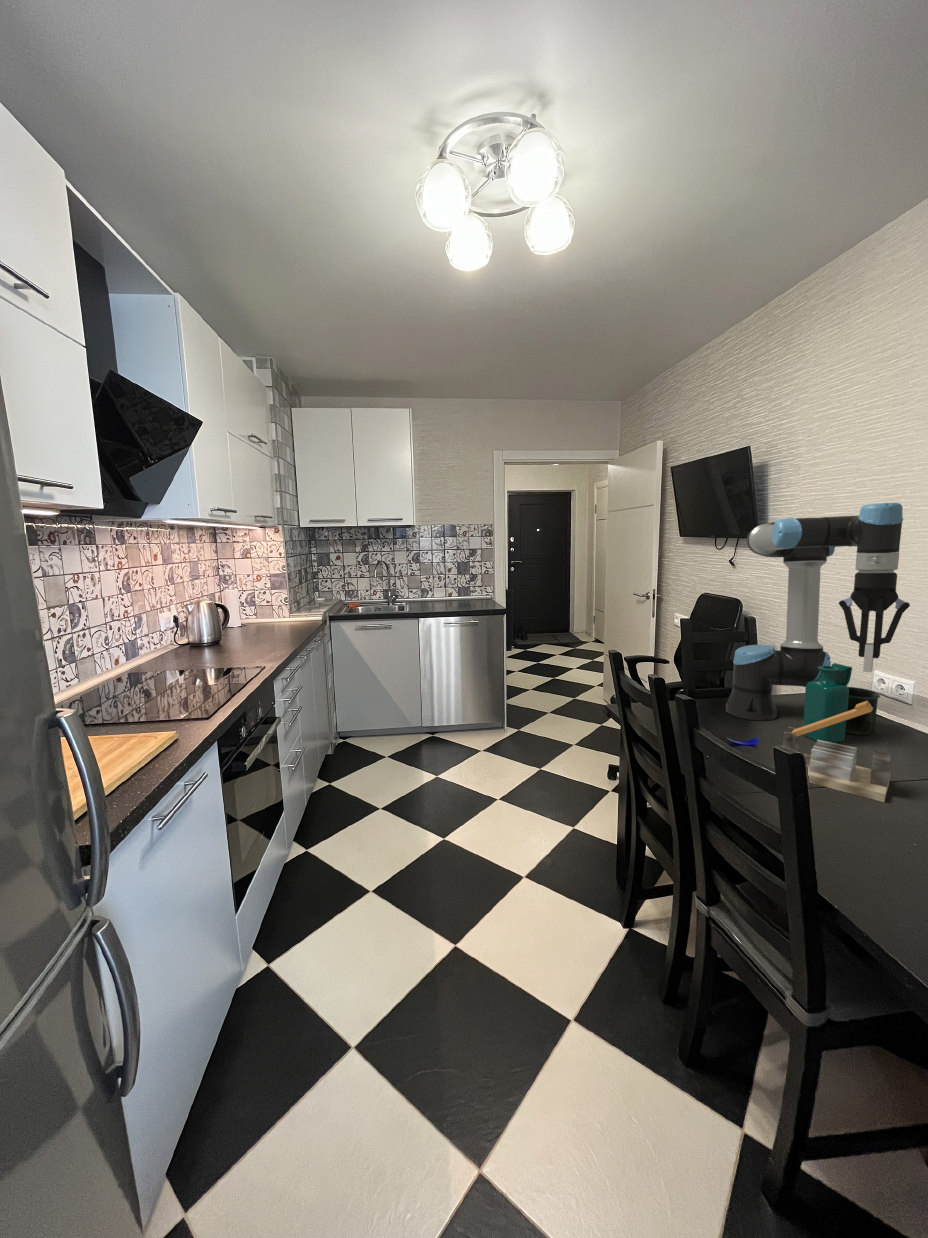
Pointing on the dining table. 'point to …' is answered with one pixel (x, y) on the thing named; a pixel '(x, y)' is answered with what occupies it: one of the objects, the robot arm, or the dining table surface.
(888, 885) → the dining table surface
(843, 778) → the clear acrylic stand
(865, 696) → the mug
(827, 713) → the pitcher
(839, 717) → the wooden stick
